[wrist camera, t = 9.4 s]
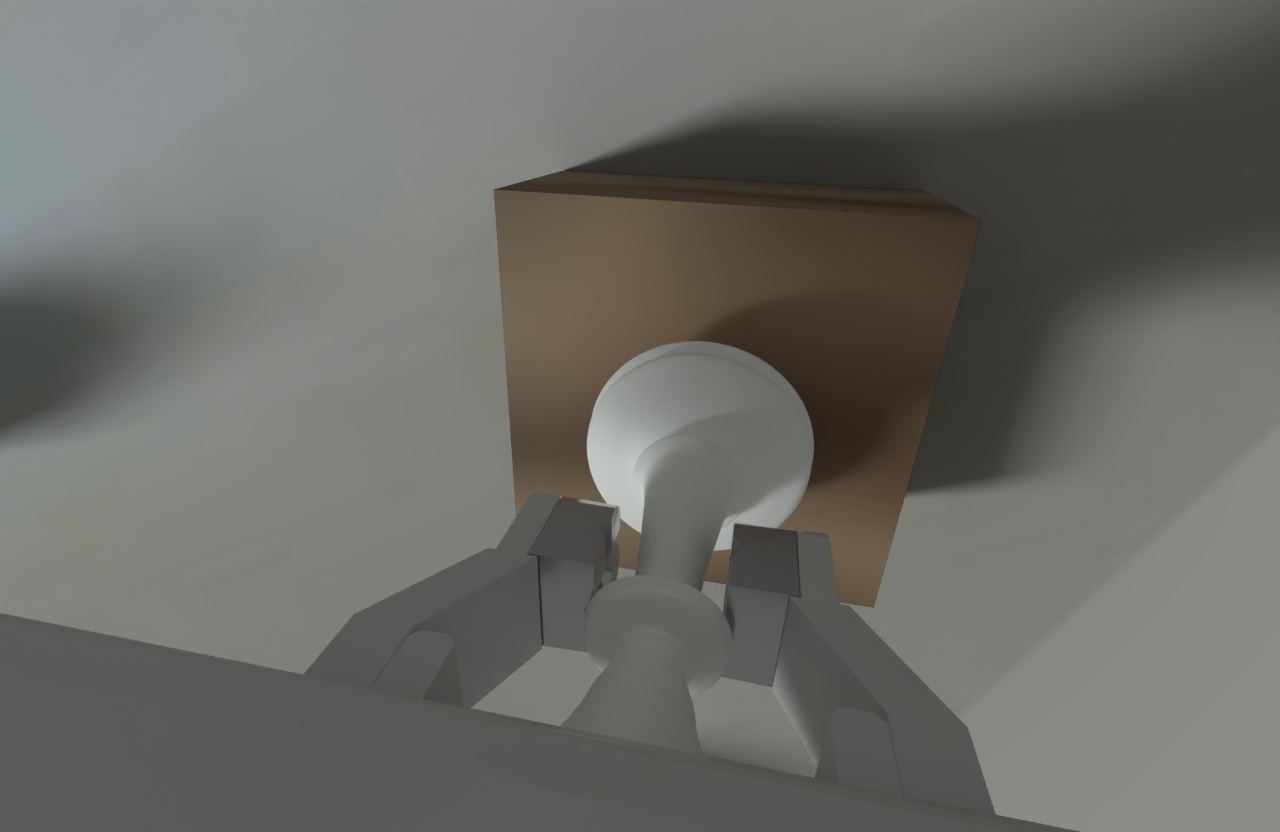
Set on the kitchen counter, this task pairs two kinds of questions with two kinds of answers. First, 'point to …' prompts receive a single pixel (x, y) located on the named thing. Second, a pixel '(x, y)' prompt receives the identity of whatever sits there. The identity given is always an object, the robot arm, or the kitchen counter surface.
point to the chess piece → (682, 523)
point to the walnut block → (735, 326)
